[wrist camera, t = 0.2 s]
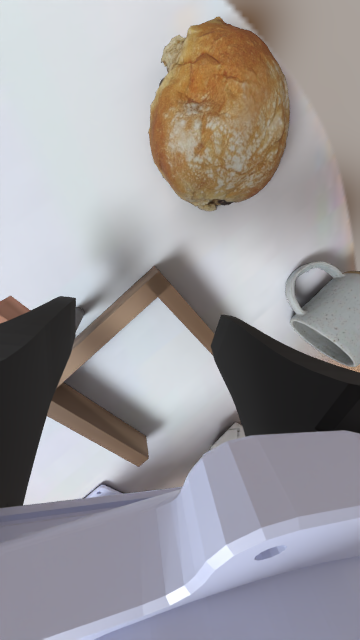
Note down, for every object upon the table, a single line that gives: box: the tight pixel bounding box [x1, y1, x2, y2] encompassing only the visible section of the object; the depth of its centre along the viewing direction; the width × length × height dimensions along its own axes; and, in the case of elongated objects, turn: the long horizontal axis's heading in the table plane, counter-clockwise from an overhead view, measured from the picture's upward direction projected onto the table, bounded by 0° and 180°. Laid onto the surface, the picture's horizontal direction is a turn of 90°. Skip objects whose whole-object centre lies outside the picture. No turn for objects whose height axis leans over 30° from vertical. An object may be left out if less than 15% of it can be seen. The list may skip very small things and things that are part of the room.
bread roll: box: [148, 17, 290, 211], centre depth 16 cm, size 10×10×8 cm
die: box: [210, 422, 245, 450], centre depth 28 cm, size 8×9×10 cm
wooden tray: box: [0, 266, 214, 467], centre depth 19 cm, size 16×20×8 cm
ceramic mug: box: [285, 262, 360, 367], centre depth 23 cm, size 10×8×7 cm
